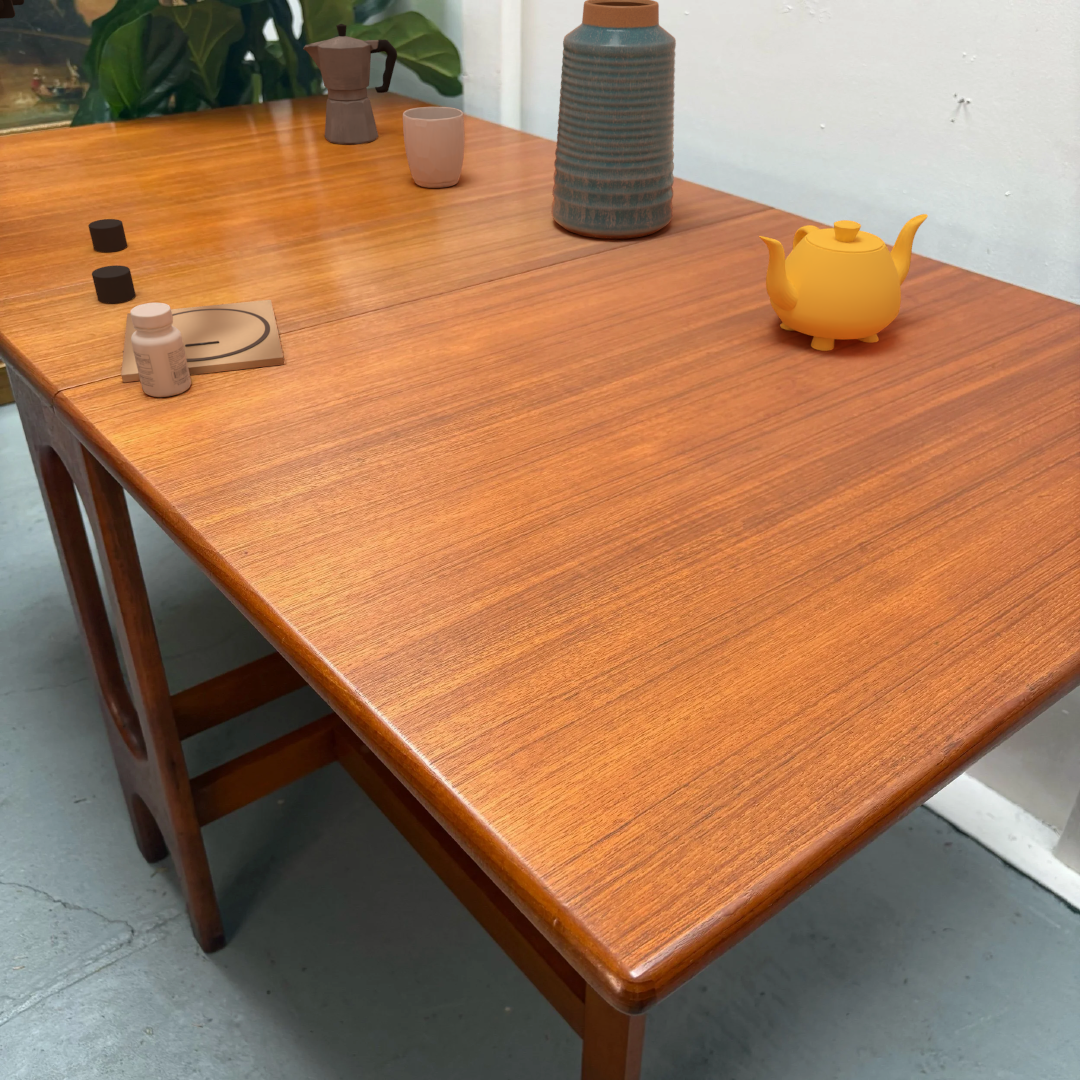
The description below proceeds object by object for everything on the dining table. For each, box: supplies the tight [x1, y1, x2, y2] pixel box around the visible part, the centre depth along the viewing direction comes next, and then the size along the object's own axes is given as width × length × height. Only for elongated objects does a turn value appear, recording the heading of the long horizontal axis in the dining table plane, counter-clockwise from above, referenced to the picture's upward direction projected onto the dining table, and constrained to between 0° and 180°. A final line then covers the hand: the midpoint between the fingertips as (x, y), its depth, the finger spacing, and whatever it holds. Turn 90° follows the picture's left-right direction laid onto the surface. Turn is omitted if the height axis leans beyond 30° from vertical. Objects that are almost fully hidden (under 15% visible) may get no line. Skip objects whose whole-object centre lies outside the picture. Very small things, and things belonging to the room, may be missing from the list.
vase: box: [550, 0, 677, 240], centre depth 131 cm, size 16×16×27 cm
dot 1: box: [87, 218, 128, 253], centre depth 128 cm, size 4×4×3 cm
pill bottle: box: [129, 302, 192, 398], centre depth 93 cm, size 4×4×8 cm
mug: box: [402, 106, 466, 189], centre depth 153 cm, size 13×9×10 cm
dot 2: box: [91, 264, 136, 305], centre depth 113 cm, size 4×4×3 cm
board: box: [120, 299, 286, 383], centre depth 104 cm, size 15×16×1 cm
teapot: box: [758, 213, 928, 352], centre depth 105 cm, size 20×15×12 cm
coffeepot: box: [303, 23, 398, 145], centre depth 173 cm, size 15×9×18 cm, turn 95°
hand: (5, 11), depth 112 cm, fingers open, 9 cm apart
